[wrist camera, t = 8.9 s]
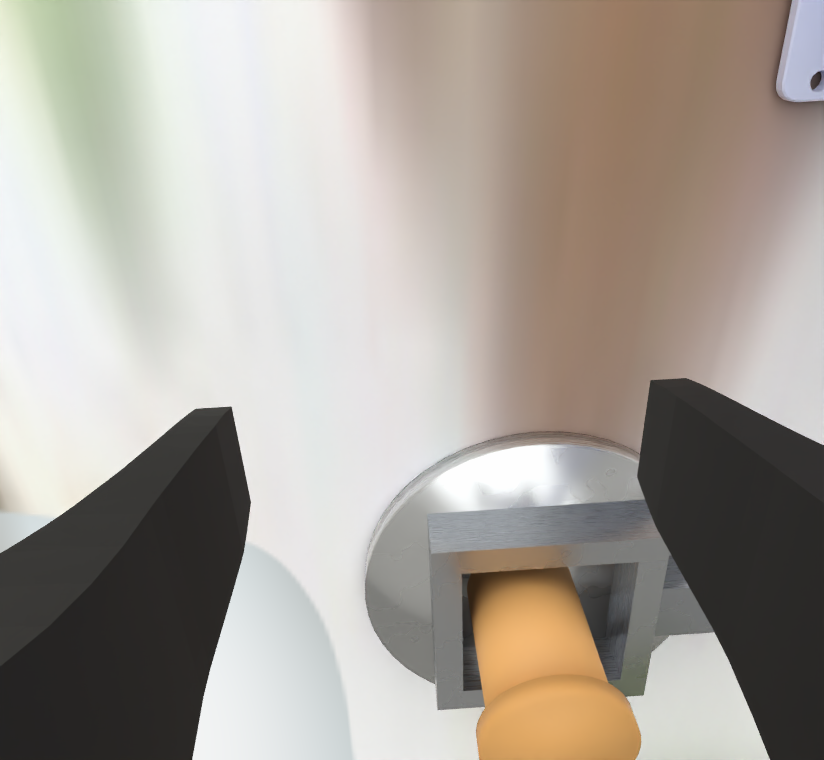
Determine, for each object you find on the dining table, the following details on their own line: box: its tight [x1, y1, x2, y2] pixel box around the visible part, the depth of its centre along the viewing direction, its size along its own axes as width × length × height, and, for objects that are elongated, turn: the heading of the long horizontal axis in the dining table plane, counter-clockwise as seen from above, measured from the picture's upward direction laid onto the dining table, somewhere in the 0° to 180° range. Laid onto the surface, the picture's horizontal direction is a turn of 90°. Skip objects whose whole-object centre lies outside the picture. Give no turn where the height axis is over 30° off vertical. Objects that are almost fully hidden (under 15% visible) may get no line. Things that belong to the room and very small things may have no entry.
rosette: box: [365, 432, 714, 710], centre depth 25 cm, size 20×13×3 cm, turn 93°
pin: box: [467, 567, 641, 760], centre depth 23 cm, size 5×5×7 cm
